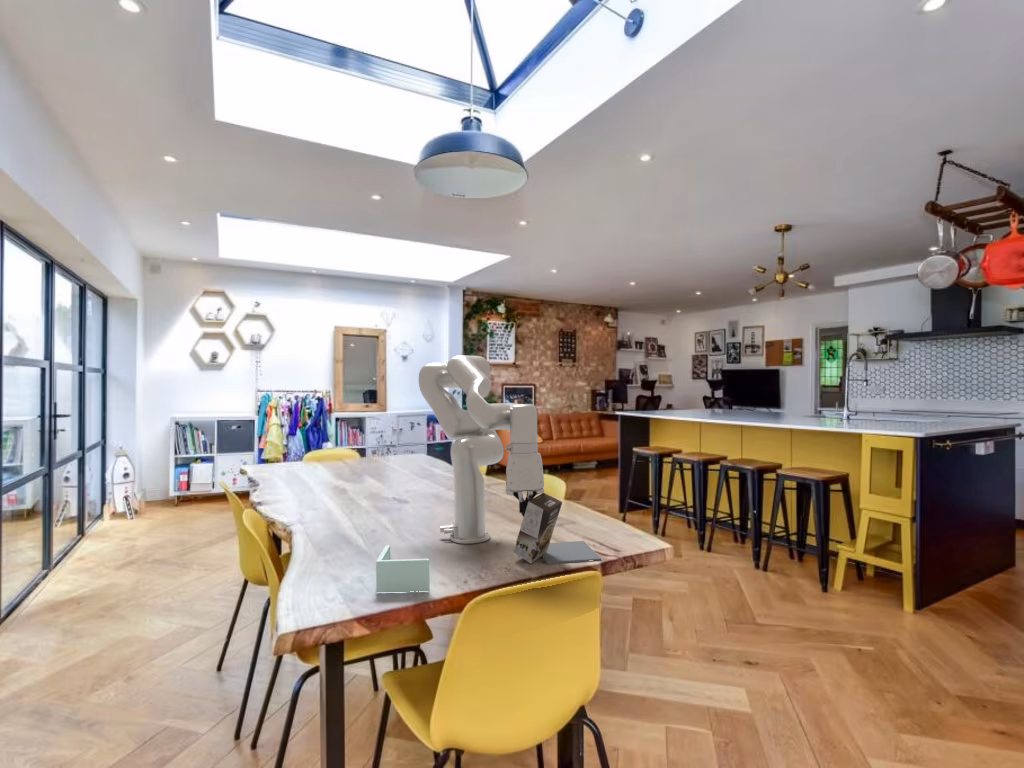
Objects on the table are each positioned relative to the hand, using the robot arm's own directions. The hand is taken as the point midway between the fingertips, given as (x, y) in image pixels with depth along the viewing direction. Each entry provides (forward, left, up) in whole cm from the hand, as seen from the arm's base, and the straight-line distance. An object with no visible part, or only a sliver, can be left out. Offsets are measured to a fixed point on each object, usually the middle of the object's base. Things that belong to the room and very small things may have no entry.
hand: (525, 515), depth 140 cm
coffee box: (+1, 0, -11) cm, 11 cm away
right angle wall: (-32, -12, -12) cm, 36 cm away
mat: (+12, +2, -12) cm, 17 cm away
